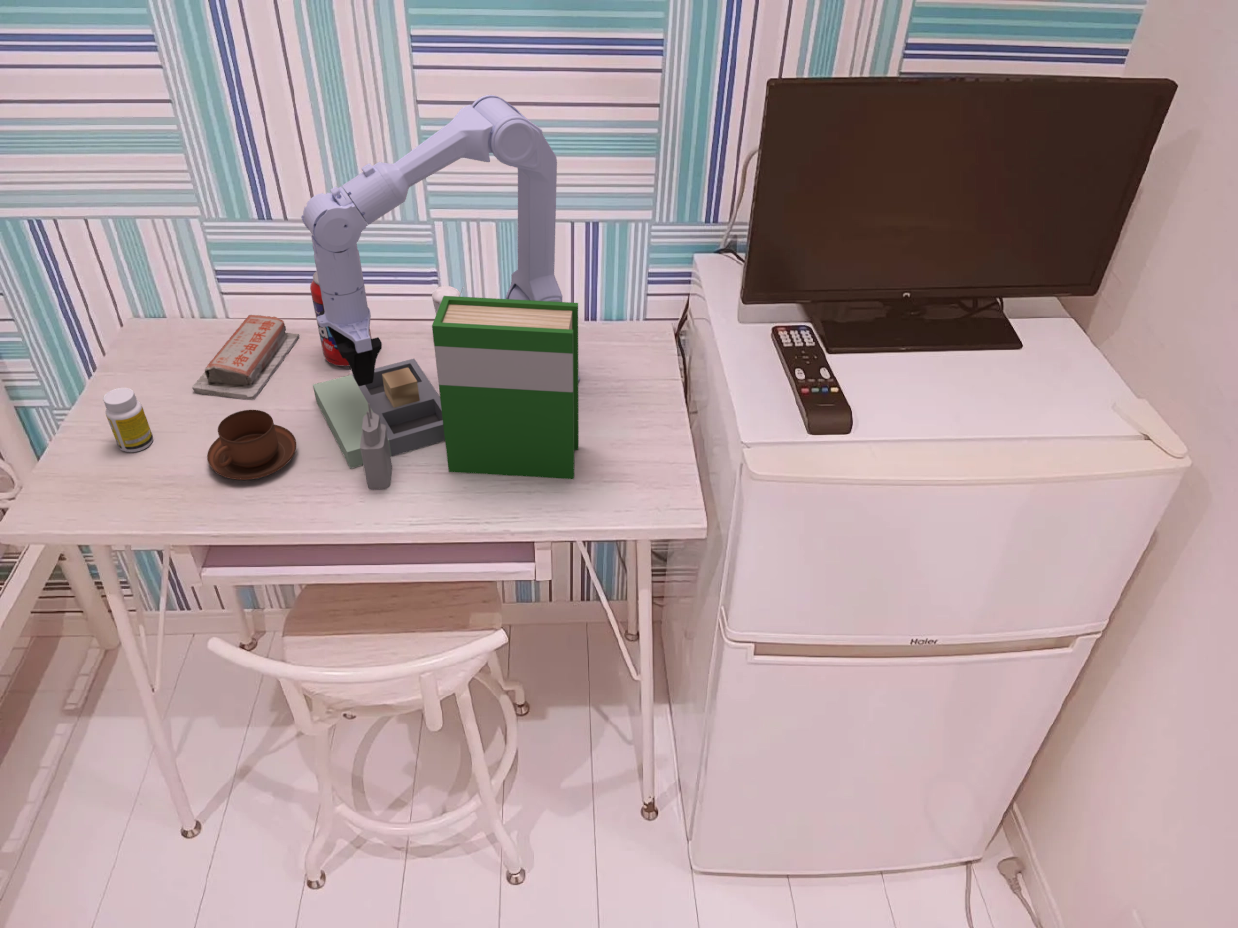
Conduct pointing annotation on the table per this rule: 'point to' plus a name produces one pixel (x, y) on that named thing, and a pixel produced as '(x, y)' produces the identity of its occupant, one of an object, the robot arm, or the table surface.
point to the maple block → (401, 387)
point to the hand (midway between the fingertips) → (357, 369)
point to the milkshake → (441, 292)
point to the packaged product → (247, 359)
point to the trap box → (380, 412)
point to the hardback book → (508, 385)
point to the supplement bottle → (127, 420)
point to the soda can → (326, 328)
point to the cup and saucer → (250, 446)
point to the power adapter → (375, 452)
